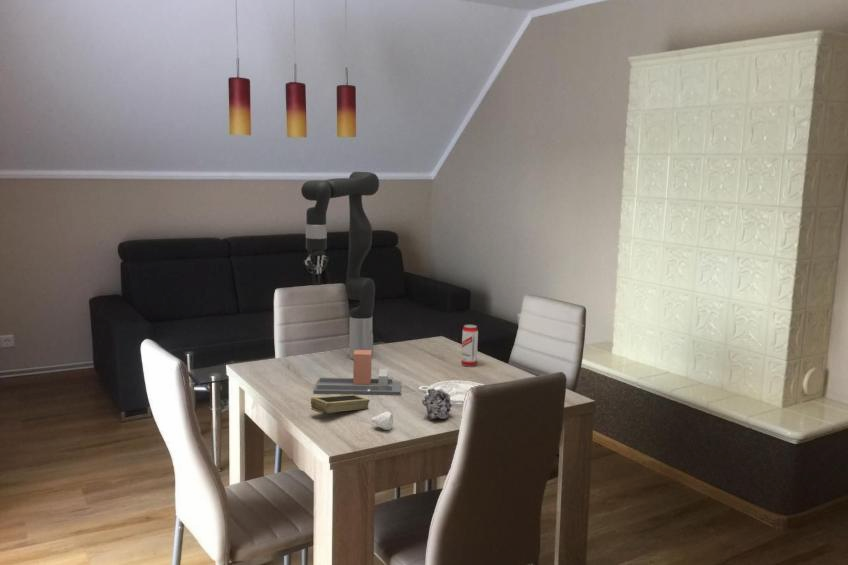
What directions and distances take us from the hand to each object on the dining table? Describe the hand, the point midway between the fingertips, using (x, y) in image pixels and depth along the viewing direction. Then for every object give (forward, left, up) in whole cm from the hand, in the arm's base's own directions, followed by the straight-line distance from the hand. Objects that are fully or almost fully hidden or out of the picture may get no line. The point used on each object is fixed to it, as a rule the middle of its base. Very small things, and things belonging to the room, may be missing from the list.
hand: (316, 283), depth 264 cm
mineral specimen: (+14, +58, -35) cm, 69 cm away
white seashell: (+33, +49, -35) cm, 69 cm away
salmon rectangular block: (+4, +23, -33) cm, 41 cm away
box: (+26, +30, -35) cm, 54 cm away
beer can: (-45, +42, -35) cm, 71 cm away
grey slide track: (+5, +22, -35) cm, 42 cm away
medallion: (-8, +54, -36) cm, 65 cm away
